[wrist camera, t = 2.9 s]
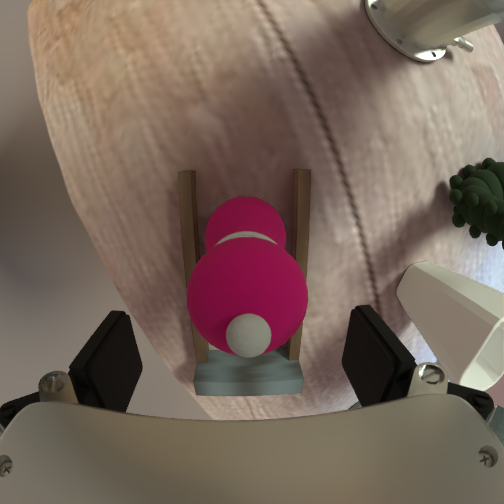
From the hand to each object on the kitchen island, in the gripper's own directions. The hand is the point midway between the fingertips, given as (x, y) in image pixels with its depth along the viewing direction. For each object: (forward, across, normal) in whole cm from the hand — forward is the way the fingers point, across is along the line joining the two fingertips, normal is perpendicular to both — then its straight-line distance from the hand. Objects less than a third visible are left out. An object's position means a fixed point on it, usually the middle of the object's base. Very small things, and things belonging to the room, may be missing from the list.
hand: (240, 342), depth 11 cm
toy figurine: (+19, -35, -8) cm, 40 cm away
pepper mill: (+19, -1, -1) cm, 19 cm away
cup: (+19, -24, +7) cm, 31 cm away
